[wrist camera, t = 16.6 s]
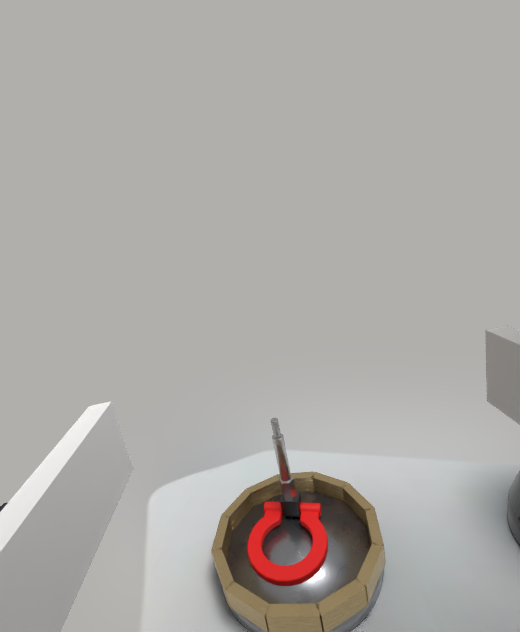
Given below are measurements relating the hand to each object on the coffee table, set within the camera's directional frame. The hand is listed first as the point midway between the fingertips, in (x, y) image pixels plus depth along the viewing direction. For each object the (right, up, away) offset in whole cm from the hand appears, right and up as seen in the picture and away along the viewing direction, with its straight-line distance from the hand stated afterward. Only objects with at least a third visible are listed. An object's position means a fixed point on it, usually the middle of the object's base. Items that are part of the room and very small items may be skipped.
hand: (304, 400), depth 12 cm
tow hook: (+2, -21, +25) cm, 33 cm away
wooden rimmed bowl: (+3, -23, +26) cm, 34 cm away
